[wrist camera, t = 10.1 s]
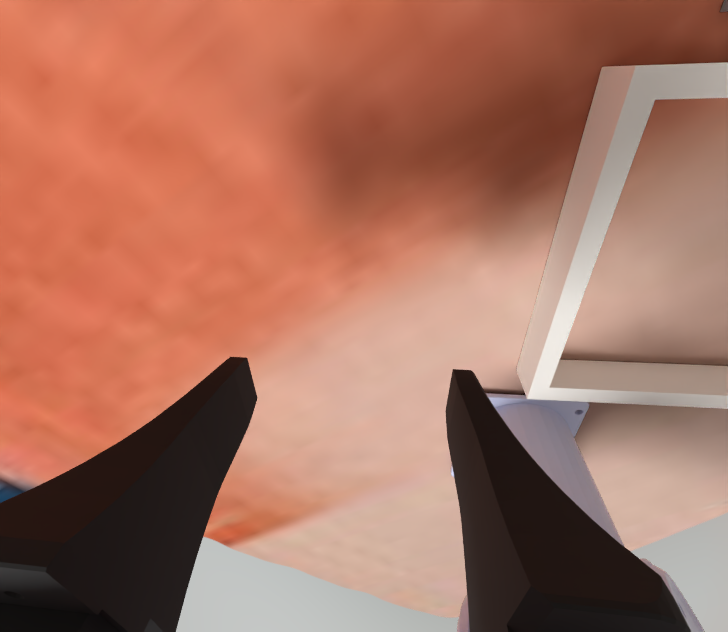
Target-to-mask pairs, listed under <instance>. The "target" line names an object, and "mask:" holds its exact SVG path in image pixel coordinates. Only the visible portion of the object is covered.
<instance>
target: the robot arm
mask: <svg viewBox="0 0 728 632" xmlns="http://www.w3.org/2000/svg"><path fill="white" fill-rule="evenodd" d="M256 401H257V395H256V391H255V387H254V383H253V379H252V375H251V371H250V367H249V363H248V360H247V358H242V357H230V358H229V359H227V360H226V361H225V362H224V363H222V364H221V365H220V366H219V367H218V368H217V369H215V370H214V371H213V372H212V373H211V374H210V375H208V376H207V377H206V378H205V379H204V380H203V381H201V382H200V383H199V384H198V385H196V386H195V387H194V388H193V389H192V390H190V391H189V392H188V393H187V394H186V395H184V396H183V397H182V398H181V399H179V400H178V401H177V402H175V403H174V404H173V405H172V406H170V407H169V408H168V409H166V410H165V411H164V412H162V413H161V414H160V415H158V416H157V417H156V418H154V419H153V420H152V421H150V422H149V423H147V424H146V425H144V426H143V427H142V428H140V429H139V430H137V431H136V432H134V433H132V434H131V435H129V436H128V437H126V438H125V439H123V440H122V441H120V442H118V443H117V444H115V445H113V446H112V447H110V448H108V449H107V450H105V451H103V452H101V453H100V454H98V455H96V456H95V457H93V458H91V459H89V460H88V461H86V462H84V463H82V464H80V465H79V466H77V467H75V468H73V469H71V470H69V471H67V472H65V473H63V474H61V475H59V476H57V477H55V478H53V479H51V480H49V481H47V482H45V483H43V484H41V485H39V486H37V487H35V488H33V489H31V490H28V491H26V492H24V493H22V494H19V495H17V496H15V497H13V498H10V499H8V500H6V501H4V502H2V503H0V632H176V628H177V624H178V621H179V617H180V613H181V610H182V606H183V602H184V598H185V594H186V591H187V587H188V584H189V581H190V577H191V574H192V570H193V567H194V564H195V560H196V557H197V553H198V551H199V547H200V544H201V541H202V538H203V535H204V532H205V529H206V526H207V523H208V520H209V517H210V514H211V511H212V509H213V506H214V503H215V500H216V497H217V495H218V492H219V490H220V487H221V485H222V483H223V480H224V478H225V476H226V474H227V472H228V470H229V467H230V465H231V463H232V461H233V459H234V457H235V455H236V452H237V450H238V448H239V446H240V444H241V442H242V439H243V437H244V435H245V433H246V430H247V428H248V426H249V423H250V420H251V417H252V414H253V411H254V408H255V404H256ZM588 408H589V403H588V402H579V401H558V400H538V399H527V397H526V395H511V394H490V393H485V391H484V390H483V388H482V386H481V385H480V383H479V381H478V379H477V378H476V376H475V374H474V373H473V372H472V371H471V370H456V369H453V372H452V378H451V383H450V389H449V395H448V400H447V406H446V424H447V438H448V444H449V450H450V456H451V461H452V465H451V475H452V476H453V477H454V478H455V483H456V489H457V494H458V500H459V506H460V513H461V521H462V533H463V544H464V556H465V569H466V582H467V595H466V597H465V598H464V601H463V603H462V606H461V611H460V616H459V620H458V626H457V632H705V631H704V629H703V628H702V626H701V624H700V623H699V621H698V619H697V617H696V616H695V614H694V612H693V611H692V609H691V607H690V606H689V604H688V602H687V601H686V599H685V598H684V596H683V594H682V593H681V591H680V590H679V588H678V587H677V585H676V584H675V582H674V581H673V580H672V578H671V577H670V576H669V575H668V574H667V573H666V572H665V571H663V570H662V569H660V568H658V567H656V566H654V565H652V564H651V562H649V561H648V560H647V559H639V558H638V557H636V556H635V555H634V554H633V553H631V552H630V551H629V550H628V549H626V548H625V547H624V545H623V543H622V540H621V538H620V536H619V534H618V532H617V530H616V528H615V525H614V523H613V521H612V519H611V517H610V515H609V512H608V510H607V508H606V506H605V504H604V502H603V499H602V497H601V495H600V493H599V491H598V489H597V487H596V484H595V482H594V480H593V478H592V476H591V474H590V471H589V469H588V467H587V465H586V463H585V461H584V458H583V456H582V454H581V452H580V450H579V448H578V446H577V443H576V441H575V439H574V437H575V435H576V433H577V431H578V429H579V427H580V425H581V423H582V421H583V419H584V416H585V414H586V412H587V410H588Z"/></svg>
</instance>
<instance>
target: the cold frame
mask: <svg viewBox="0 0 728 632" xmlns="http://www.w3.org/2000/svg"><path fill="white" fill-rule="evenodd" d="M701 98H728V62H723V63H694V64H664V65H635V66H606V67H602V69H601V72H600V76H599V79H598V83H597V86H596V90H595V93H594V97H593V100H592V104H591V108H590V111H589V115H588V118H587V122H586V125H585V129H584V132H583V136H582V139H581V143H580V146H579V150H578V153H577V157H576V160H575V164H574V167H573V171H572V174H571V178H570V182H569V185H568V189H567V192H566V196H565V199H564V203H563V206H562V210H561V213H560V217H559V220H558V224H557V227H556V231H555V234H554V238H553V241H552V245H551V248H550V252H549V256H548V259H547V263H546V266H545V270H544V273H543V277H542V280H541V284H540V287H539V291H538V294H537V298H536V301H535V305H534V308H533V312H532V315H531V319H530V323H529V326H528V330H527V333H526V337H525V340H524V344H523V347H522V351H521V354H520V358H519V361H518V365H517V368H516V371H517V373H518V376H519V379H520V381H521V384H522V387H523V389H524V392H525V395H526V397H527V399H538V400H558V401H579V402H599V403H619V404H640V405H660V406H681V407H701V408H721V409H728V366H715V365H689V364H663V363H638V362H612V361H586V360H560V357H561V355H562V352H563V349H564V346H565V344H566V341H567V338H568V336H569V333H570V330H571V327H572V325H573V322H574V319H575V317H576V314H577V311H578V308H579V306H580V303H581V300H582V298H583V295H584V292H585V289H586V287H587V284H588V281H589V279H590V276H591V273H592V270H593V268H594V265H595V262H596V259H597V257H598V254H599V251H600V249H601V246H602V243H603V240H604V238H605V235H606V232H607V230H608V227H609V224H610V221H611V219H612V216H613V213H614V211H615V208H616V205H617V202H618V200H619V197H620V194H621V192H622V189H623V186H624V183H625V181H626V178H627V175H628V173H629V170H630V167H631V164H632V162H633V159H634V156H635V153H636V151H637V148H638V145H639V143H640V140H641V137H642V134H643V132H644V129H645V126H646V124H647V121H648V118H649V115H650V113H651V110H652V107H653V105H654V102H655V100H662V99H701Z"/></svg>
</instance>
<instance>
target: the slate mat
mask: <svg viewBox="0 0 728 632" xmlns="http://www.w3.org/2000/svg"><path fill="white" fill-rule="evenodd" d="M720 12H728V0H724V2H723V5H722V7H721V10H720Z"/></svg>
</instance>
